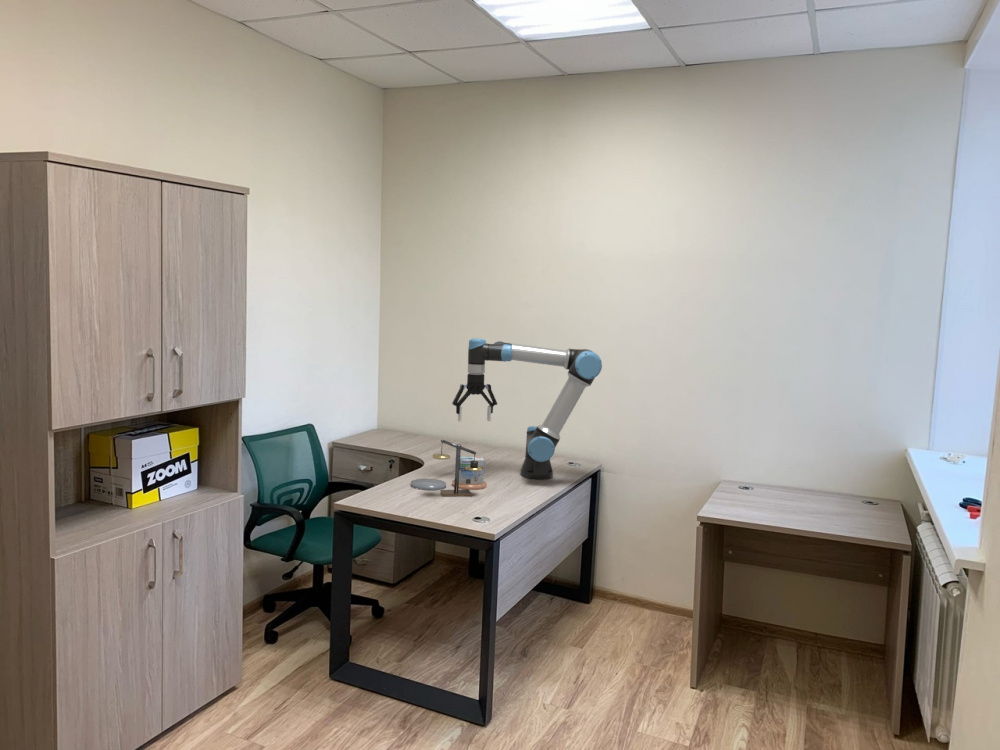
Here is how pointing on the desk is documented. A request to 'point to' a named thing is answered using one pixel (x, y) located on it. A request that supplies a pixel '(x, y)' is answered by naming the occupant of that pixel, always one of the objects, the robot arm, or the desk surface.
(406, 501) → the desk surface
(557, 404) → the robot arm
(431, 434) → the desk surface
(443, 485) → the slate dish
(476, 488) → the terracotta dish
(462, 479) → the light bulb box
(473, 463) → the balance
